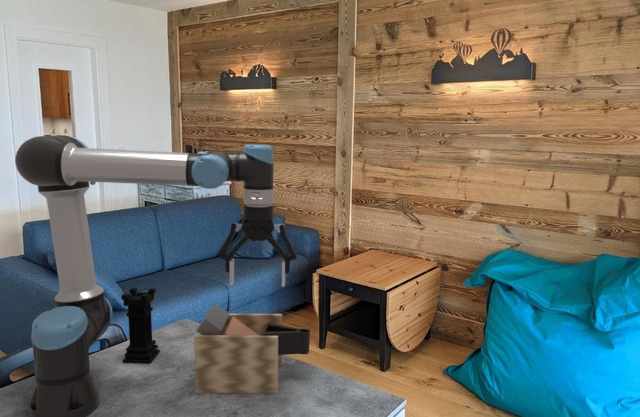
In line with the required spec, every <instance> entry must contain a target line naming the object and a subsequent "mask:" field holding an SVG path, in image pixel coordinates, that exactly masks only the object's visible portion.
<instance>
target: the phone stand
mask: <svg viewBox="0 0 640 417" xmlns="http://www.w3.org/2000/svg"><path fill="white" fill-rule="evenodd" d="M263 336H278V355H282V356H286V355H308V354H309V353H310V341H311V340H310V339H311V338H310V337H311V330H310V329H308V328H297V327H292V326H287V325H283V324H282V325H278V324H272V323H267V326H266V328H265V330H264V332H263Z"/></svg>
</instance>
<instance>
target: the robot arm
mask: <svg viewBox="0 0 640 417" xmlns="http://www.w3.org/2000/svg"><path fill="white" fill-rule="evenodd" d="M14 163H15V168H16V170H17V171H18V172H17V173H19V175H20V176H21V177H22V178H23V179H24V180H25V181H26V182H27V183H29V184H31V185H35V186H37V190H38V193H39V194H40V195H41V196H43V197H44V198H45V199H46V204H47V212H48V217H49V224H50V230H51V237H52V245H53V249H54V250H53V251H54V256H55V263H56V264H55V265H56V269H57V271H56V272H57V277H58V283H59V284H58V285H59V292H58V293H57V294H56V295H55V297H54V302H55V307H54V308H52V309H51V310H45V311H44V312H41V313H40V314H39V315H38V316H36V317H35V319H34V320H33V322H32V324H31V335H30V339H31V343H32V344H31V345H32V355H33V356H32V357H33V367H34V377H35V378H34V379H35V384H34V388H33V390H32V394H31V397H30V401H29V406H28V412H29V417H86V416H87V415H89V414H91V413H92V412H93V411H95V410H96V409H97V408H98V406H99V405H100V391H99V388H98V387H97V385H96V382H95V380H94V378H93V377H92V374H91V370H90V369H91V368H90V367H91V366H90V352H89V351H90V348H91V347H92V346H93V345H94V344H95V343H97V341H98V340H99V339H100V338H102V336H103V335H104V334H105V333H106V332H107V330H108V329H109V326H110V325H111V323H112V320H113V315H114V314H113V313H114V312H113V307H112V304H111V302H110V301H109V299H108V298H106V296H105V292H104V288H103V287H102V286H100V285H99V284H97V279H96V271H95V265H94V257H93V250H92V243H91V236H90V235H91V234H90V227H89V221H88V215H87V213H88V212H87V207H86V199H85V194H86V193H87V191H88V190H89V188H90V183H91V182H92V183H113V184H114V183H115V184H133V185H135V184H137V185H138V184H140V185H162V186H163V185H164V186H187V187H188V186H189V187H190V186H191V187H200V188H203V189H208V190H209V189H210V190H211V189H212V190H213V189H217V188H219V187H221V186H222V185H224V183H226V182H243V203H244V206H243V222H242V223H238V222H236V221H233V222H232V223H231V225H230V232H229V234H228V236H227V238H226V240H225V242H224V243H223V246H222V247H221V249H220V251H219V253H218V255H217V256H218V258H220V259H223V260H225V271H226V273H229V286H233V285H234V284H235V258H233V257H234V255H235V254H236V253H237V252H238V251H239V250H240V249H241V248H242V246H243V245H244V244H245V243H246V242H247V241H248V240H250V241H252V242H256V241H260V242H264V241H266V240H267V241H268V243H269V244H271V246H272V247H273V248H274V249H275V250H276V252H277V254H279V255H280V257H281V258H282V261H281V287H283V288H284V287H285V286H286V274H289V273H290V270H291V261H296V260H297V256H298V255H297V253H296V250H295V248H294V246H293V244H292V242H291V240H290V238H289V236H288V233H287V232H286V224H285V223H283V222H281V223H279V224H274V221H273V220H274V217H273V216H274V207H273V206H272V204H274V164H275V163H274V148H273V147H272V145H269V144H245V145H244V146H243V149H242V151H237V152H233V151H212V150H206V151H198V152H197V153H196V152H195V153H193V152H191V153H190V152H173V151H170V152H169V151H154V150H153V151H151V150H131V149H129V150H128V149H113V148H112V149H110V148H108V149H107V148H94V147H93V148H90V147H88V146H87V145H86V144H85V143H84V142H83V141H82V140H80V139H79V138H77V137H74V136H69V135H62V134H61V135H60V134H57V135H41V136H39V135H38V136H35V137H31V138H29V139H27V140H25V141H24V142H23V143H21V145H19V148H18V149H17V151H16V153H15V158H14ZM240 230H242V231H243V233H244V236H242V237H241V239H240V240H239V241H238V242H237V243H236V245H235V246H233V248H232V249H231V250H230V251H229V252H228V253H226V252H227V250H228V249H229V246H230V244H231V243H232V241H233V239H234V237H235V235H236V233H238V232H239V231H240ZM274 230H276V232H277V233H279V234H280V236H281V239H282V241H283V242H284V245H285V246H286V249H287V251H288V253H289V254H288V253H287V251H286V250H285V249H284V248H283V247H282V245H281V244H280V243H279V242H278V241H277V239H276V238H275V236H274V235H273V234H272V233H273V232H274Z"/></svg>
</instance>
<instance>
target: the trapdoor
mask: <svg viewBox="0 0 640 417" xmlns="http://www.w3.org/2000/svg"><path fill="white" fill-rule="evenodd" d="M228 316H229V313H228V312H227V310H225V309H224V308H222V307H221V306H219V305H218V304H217V303H214V304H213V305H212V306H211V307H210V309H209V310H208V312H207V313H206V314H205V315H204V318H203V319H202V320H201V323H200V324H199V326H198V328H197V330H196V332H197V333H199V335H218V334H219V333H220V332H221V331H222V328H223V326H224V324H225V322H226V320H227V318H228ZM224 335H253V336H260V335H258V334H257V333H255V332H254V331H253V330H251V329H250V328H248V327H247V326H246V325H244V324H243V323H241V322H240V321H239V320H237V319H236V318H234V317H232V319H231V320H230V323H229V325H228V327H227V329H226V332H225V334H224Z"/></svg>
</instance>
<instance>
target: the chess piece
mask: <svg viewBox="0 0 640 417" xmlns="http://www.w3.org/2000/svg"><path fill="white" fill-rule="evenodd" d="M156 290H157V288H156V287H151V288H149V289H148V292H146V291H145V292H144V291H141V292H140V291H138V287H130V288H129V290H128V291H129V293H123V294H121V295H120V296H121V300H123V306H124V307H127V310H128V311H127V312H126V317H128V318H127V319H128V333H129V334H128V335H129V336H128V337H129V345H128V346H127V347H126V348H125V351H126V352H125V354H123V355H124V358H123V360H122V364H143V365H144V364H146V365H147V364H148V365H150V364H152V363H153V361H154V360H155V359H156V357H157V356H158V355H159V353H160V352H161V349H160V348H159V345H158V344H156V343H157V340H154V339H153V331H152V330H153V328H152V327H153V326H152V325H153V324H152V312H153V311H154V307H153V306H152V305H151V304H152V302H153V301H154V300H155V294H156V292H157V291H156Z"/></svg>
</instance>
